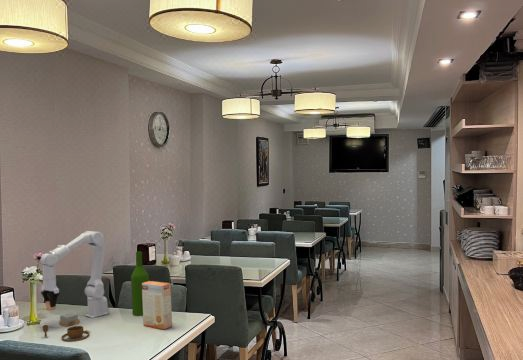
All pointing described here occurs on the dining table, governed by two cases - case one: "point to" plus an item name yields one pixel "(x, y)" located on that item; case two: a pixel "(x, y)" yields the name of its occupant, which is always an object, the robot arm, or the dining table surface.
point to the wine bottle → (138, 285)
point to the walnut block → (69, 323)
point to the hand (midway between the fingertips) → (50, 306)
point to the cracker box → (157, 304)
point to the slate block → (69, 317)
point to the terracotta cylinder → (49, 306)
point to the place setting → (71, 333)
